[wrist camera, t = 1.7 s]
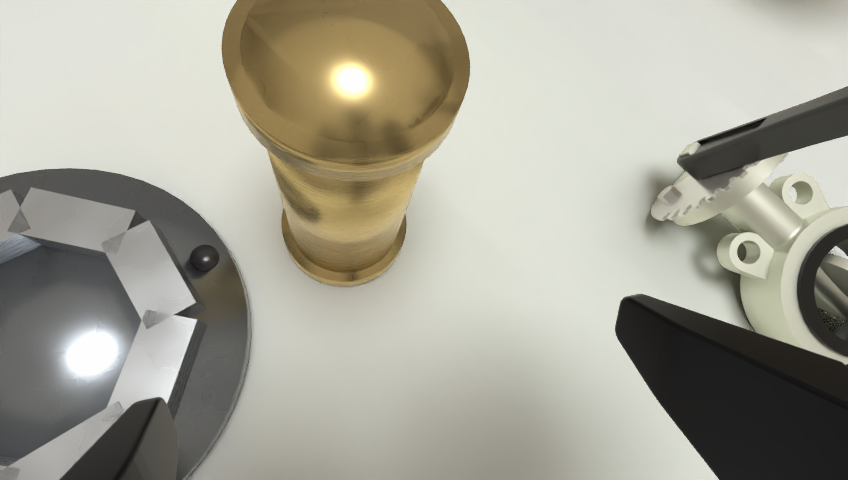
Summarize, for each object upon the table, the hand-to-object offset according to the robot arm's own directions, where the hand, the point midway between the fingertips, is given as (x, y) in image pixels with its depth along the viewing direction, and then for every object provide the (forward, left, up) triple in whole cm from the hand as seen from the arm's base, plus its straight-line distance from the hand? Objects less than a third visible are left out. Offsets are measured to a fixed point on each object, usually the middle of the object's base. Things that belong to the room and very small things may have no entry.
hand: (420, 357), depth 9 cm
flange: (+1, +14, -13) cm, 19 cm away
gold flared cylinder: (+7, +2, -13) cm, 15 cm away
